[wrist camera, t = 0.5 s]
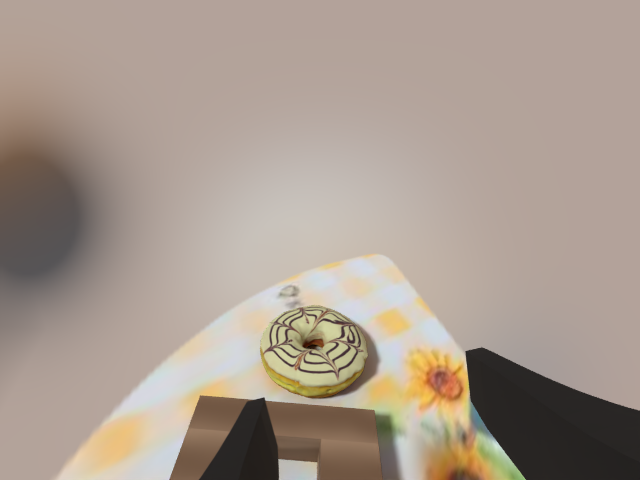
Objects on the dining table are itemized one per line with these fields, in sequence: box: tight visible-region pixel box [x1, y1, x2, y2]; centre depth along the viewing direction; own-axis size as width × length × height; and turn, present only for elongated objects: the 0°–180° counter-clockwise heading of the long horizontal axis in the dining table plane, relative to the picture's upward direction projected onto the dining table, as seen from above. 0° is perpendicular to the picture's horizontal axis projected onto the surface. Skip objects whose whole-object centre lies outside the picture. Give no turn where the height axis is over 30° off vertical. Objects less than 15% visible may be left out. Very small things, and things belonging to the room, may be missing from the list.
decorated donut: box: [260, 305, 368, 398], centre depth 36 cm, size 10×11×4 cm
